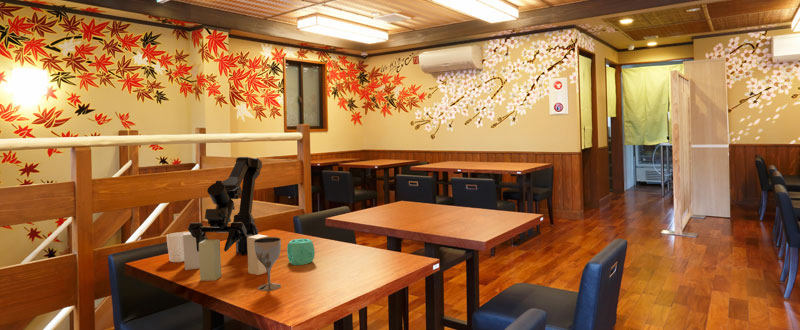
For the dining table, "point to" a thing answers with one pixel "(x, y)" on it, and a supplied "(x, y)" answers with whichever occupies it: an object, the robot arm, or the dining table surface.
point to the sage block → (210, 259)
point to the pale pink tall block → (190, 252)
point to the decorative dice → (300, 251)
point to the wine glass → (268, 257)
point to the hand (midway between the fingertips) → (211, 251)
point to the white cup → (175, 247)
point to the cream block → (254, 256)
